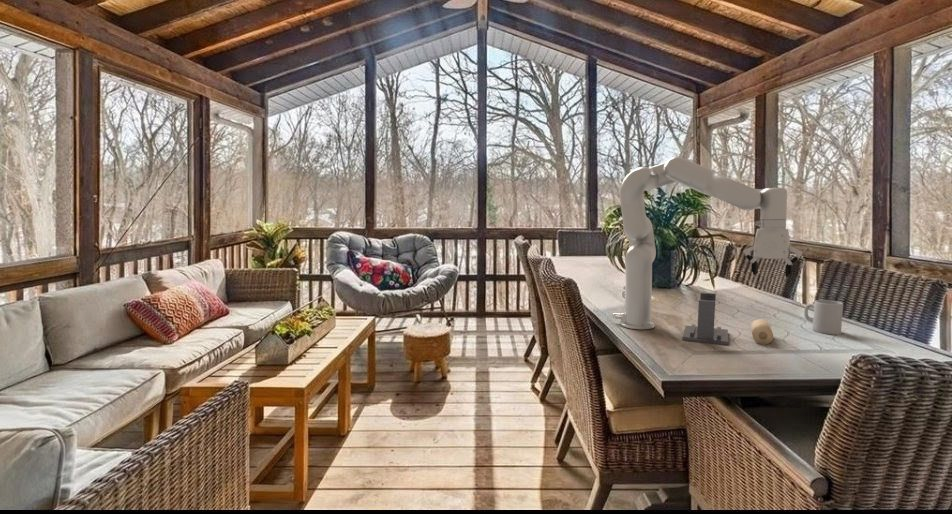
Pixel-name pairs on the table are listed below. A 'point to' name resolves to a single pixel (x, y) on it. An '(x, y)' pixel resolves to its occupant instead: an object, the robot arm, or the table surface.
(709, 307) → the roll holder
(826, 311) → the mug
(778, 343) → the table surface
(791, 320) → the table surface
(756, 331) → the paper roll
